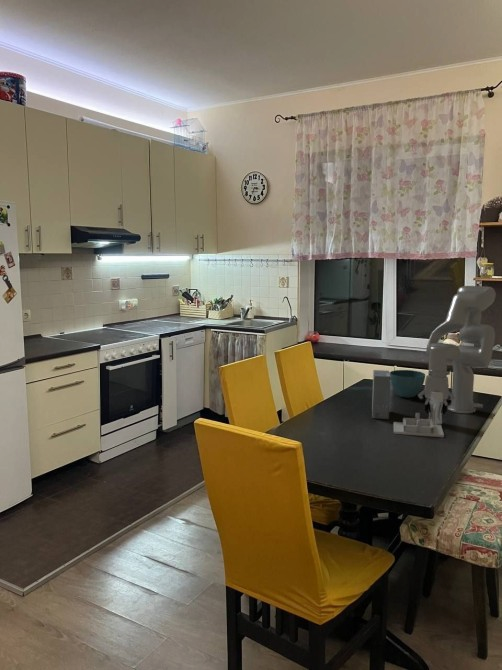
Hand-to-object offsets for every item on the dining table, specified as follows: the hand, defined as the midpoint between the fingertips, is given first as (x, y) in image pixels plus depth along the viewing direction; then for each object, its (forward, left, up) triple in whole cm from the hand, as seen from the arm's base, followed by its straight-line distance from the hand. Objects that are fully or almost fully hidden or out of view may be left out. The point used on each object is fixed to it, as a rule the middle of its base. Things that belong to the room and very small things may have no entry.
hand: (435, 412), depth 247 cm
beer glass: (0, 0, -5) cm, 5 cm away
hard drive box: (+24, -8, -5) cm, 26 cm away
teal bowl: (+11, -48, -5) cm, 49 cm away
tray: (+8, +13, -5) cm, 16 cm away
